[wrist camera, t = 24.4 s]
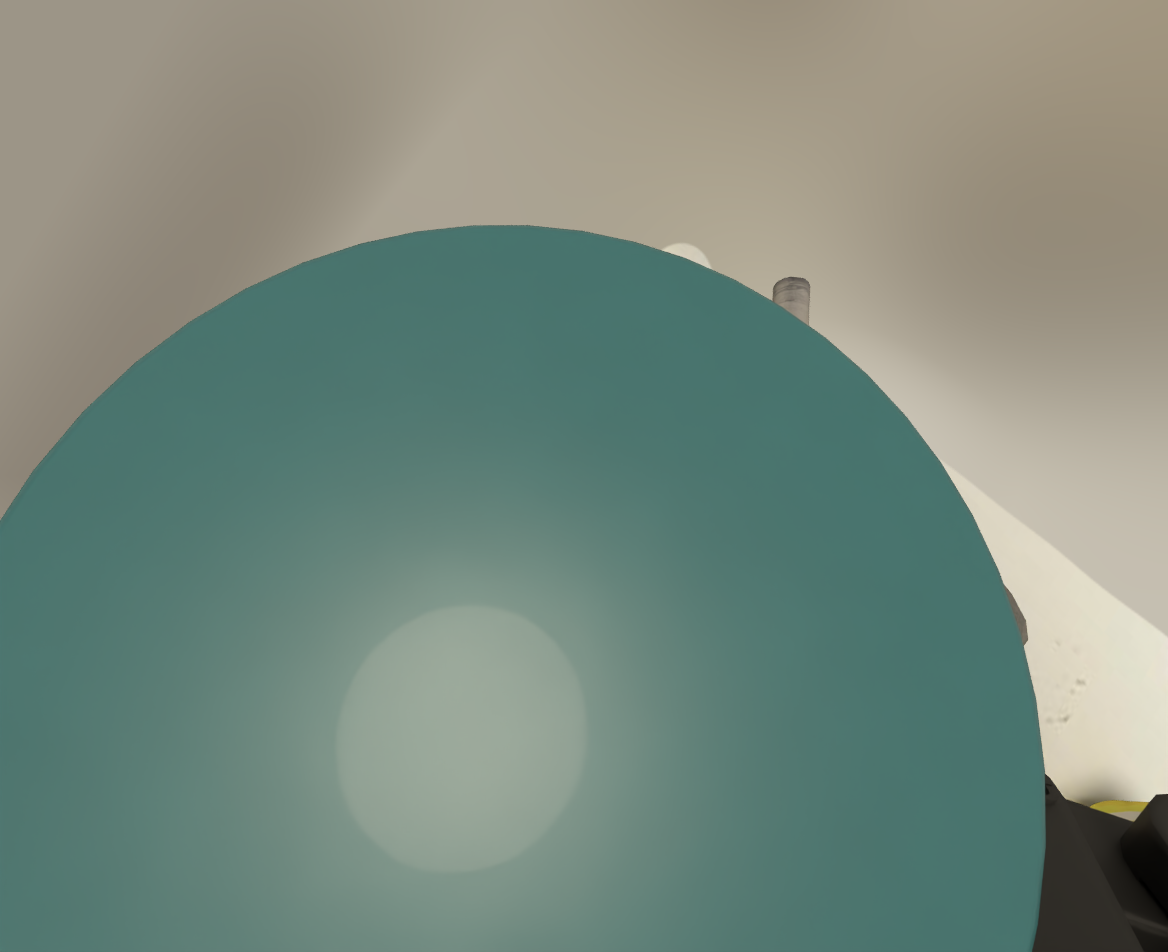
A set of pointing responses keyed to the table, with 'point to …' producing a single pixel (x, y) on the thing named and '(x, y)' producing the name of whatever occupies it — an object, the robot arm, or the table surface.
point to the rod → (793, 296)
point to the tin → (507, 631)
